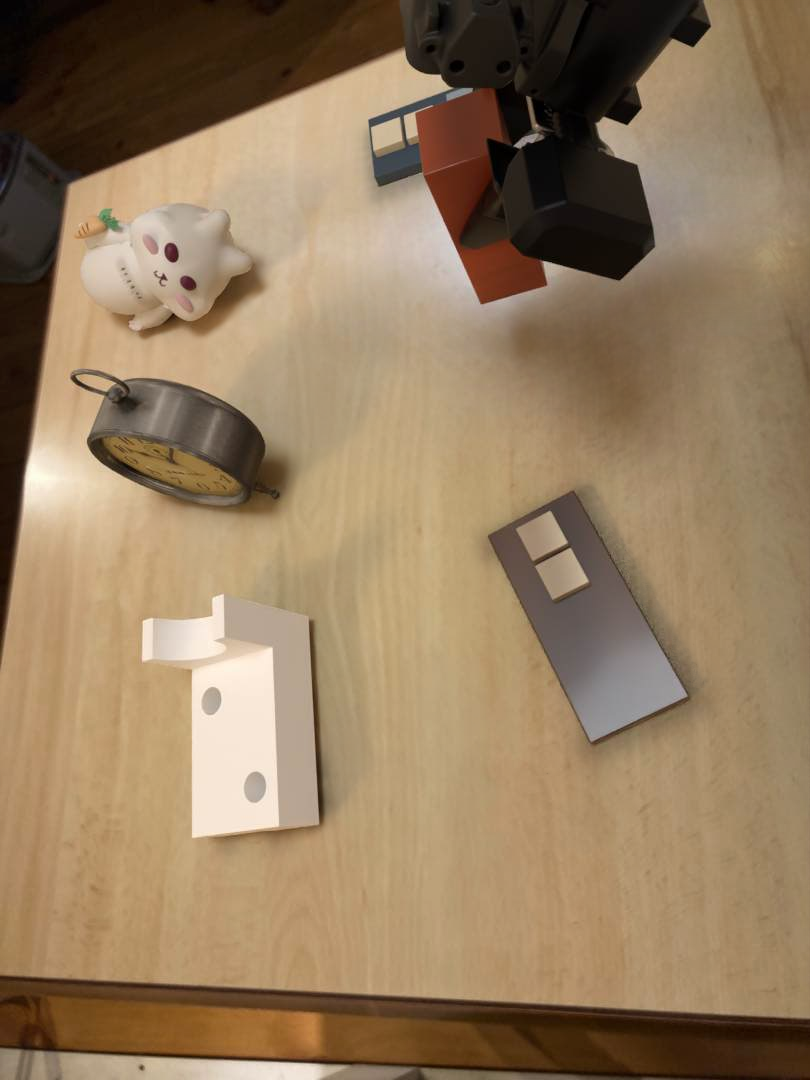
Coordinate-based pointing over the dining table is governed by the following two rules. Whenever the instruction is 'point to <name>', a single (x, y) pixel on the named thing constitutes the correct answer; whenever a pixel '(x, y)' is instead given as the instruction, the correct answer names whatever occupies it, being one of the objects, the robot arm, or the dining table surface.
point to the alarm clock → (177, 440)
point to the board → (586, 619)
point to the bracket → (245, 714)
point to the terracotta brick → (472, 188)
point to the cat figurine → (159, 262)
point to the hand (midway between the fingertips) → (461, 212)
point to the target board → (402, 138)
